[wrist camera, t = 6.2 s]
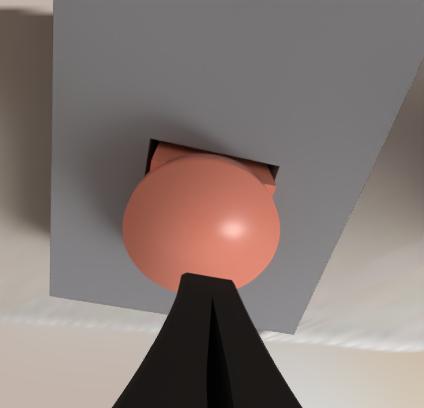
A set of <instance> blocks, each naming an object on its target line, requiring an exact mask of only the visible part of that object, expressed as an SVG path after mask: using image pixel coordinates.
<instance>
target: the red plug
mask: <svg viewBox="0 0 424 408" xmlns="http://www.w3.org/2000/svg"><path fill="white" fill-rule="evenodd" d="M275 188H276V184H275V182H274V180H273V177H272V175H271V173H270V170H269V168H268V166H267V163H263V162H258V161H253V160H249V159H244V158H239V157H235V156H230V155H225V154H221V153H216V152H211V151H207V150H202V149H197V148H193V147H188V146H184V145H179V144H174V143H170V142H165V141H160V142H159V144H158V146H157V149H156V151H155V153H154V155H153V158H152V160H151V166H150V171H149V172H148V173H147V174H146V175H145V176H144V177H143V178H142V180H141V181H140V182H139V183H138V185H137V186H136V188H135V190H134V192H133V193H132V195H131V198H130V200H129V202H128V204H127V207H126V210H125V212H124V217H123V226H122V232H123V240H124V243H125V247H126V250H127V252H128V254H129V256H130V258H131V260H132V261H133V263H134V264H135V265H136V267H137V268H138V269H139V270H140V271H141V272H142V273H143V274H144V275H145V276H146V277H148V278H149V279H150V280H152V281H153V282H155V283H156V284H158V285H160V286H162V287H164V288H166V289H168V290H171V291H174V292H177V291H178V287H179V283H180V279H181V275H182V274H184V273H186V272H188V273H193V274H199V275H205V276H211V277H217V278H222V279H228V280H232V281H233V282H234V284H235V286H236V288H237V289H238V288H240V287H242V286H244V285H246V284H247V283H249V282H250V281H252V280H253V279H255V278H256V277H257V276H258V275H259V274H260V273H262V272H263V270H264V269H265V268H266V267H267V266H268V264H269V263H270V261H271V260H272V258H273V256H274V254H275V252H276V250H277V246H278V243H279V237H280V221H279V215H278V212H277V209H276V206H275V204H274V201H273V198H272V197H273V194H274V191H275Z"/></svg>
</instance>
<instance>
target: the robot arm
mask: <svg viewBox="0 0 424 408" xmlns="http://www.w3.org/2000/svg"><path fill="white" fill-rule="evenodd" d="M112 408H302V406H301V405H300V403H299V402H298V400H297V399H296V397H295V396H294V394H293V392H292V391H291V389H290V388H289V386H288V384H287V383H286V381H285V380H284V378H283V376H282V375H281V373H280V372H279V370H278V368H277V367H276V365H275V363H274V361H273V359H272V358H271V356H270V354H269V352H268V350H267V349H266V347H265V345H264V343H263V341H262V339H261V337H260V336H259V334H258V332H257V330H256V328H255V326H254V324H253V322H252V320H251V318H250V316H249V314H248V312H247V310H246V308H245V306H244V304H243V301H242V299H241V297H240V295H239V292H238V290H237V288H236V286H235V284H234V282H233V281H232V280H228V279H222V278H217V277H211V276H205V275H199V274H193V273H188V272H186V273H184V274H182V275H181V279H180V283H179V287H178V291H177V295H176V298H175V301H174V303H173V305H172V308H171V310H170V312H169V314H168V316H167V318H166V320H165V322H164V324H163V326H162V328H161V330H160V332H159V334H158V336H157V338H156V340H155V341H154V343H153V345H152V346H151V348H150V350H149V351H148V353H147V355H146V357H145V359H144V360H143V362H142V363H141V365H140V367H139V368H138V370H137V371H136V373H135V374H134V376H133V377H132V379H131V381H130V382H129V384H128V385H127V387H126V388H125V390H124V391H123V392H122V394H121V395H120V397H119V398H118V400H117V401H116V403H115V404H114V406H113V407H112Z"/></svg>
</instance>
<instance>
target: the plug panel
mask: <svg viewBox="0 0 424 408" xmlns="http://www.w3.org/2000/svg"><path fill="white" fill-rule="evenodd" d="M423 59H424V0H54V3H53V78H52V155H51V232H50V296H53V297H59V298H66V299H72V300H78V301H85V302H91V303H97V304H103V305H110V306H116V307H122V308H129V309H135V310H141V311H148V312H154V313H160V314H166V315H168V314H169V312H170V310H171V308H172V305H173V303H174V301H175V298H176V295H177V292H174V291H171V290H168V289H166V288H164V287H162V286H160V285H158V284H156V283H155V282H153V281H152V280H150V279H149V278H148V277H146V276H145V275H144V274H143V273H142V272H141V271H140V270H139V269H138V268H137V267H136V265H135V264H134V263H133V261H132V260H131V258H130V256H129V254H128V252H127V250H126V247H125V243H124V240H123V232H122V226H123V217H124V212H125V210H126V207H127V204H128V202H129V200H130V198H131V195H132V193H133V192H134V190H135V188H136V186H137V185H138V183H139V182H140V181H141V180H142V178H143V177H144V176H145V175H146V174H147V173H148V172H149V171H150V166H151V160H152V158H153V155H154V153H155V151H156V149H157V146H158V141H159V140H160V141H165V142H170V143H174V144H179V145H184V146H188V147H193V148H197V149H202V150H207V151H211V152H216V153H221V154H225V155H230V156H235V157H239V158H244V159H249V160H253V161H258V162H263V163H267V166H268V168H269V170H270V173H271V175H272V177H273V180H274V182H275V184H276V188H275V191H274V194H273V197H272V198H273V201H274V204H275V206H276V209H277V212H278V215H279V221H280V237H279V243H278V246H277V250H276V252H275V254H274V256H273V258H272V260H271V261H270V263H269V264H268V266H267V267H266V268H265V269H264V270H263V272H262V273H260V274H259V275H258V276H257V277H256V278H255V279H253V280H252V281H250V282H249V283H247V284H246V285H244V286H242V287H240V288H238V289H237V290H238V292H239V295H240V297H241V299H242V301H243V304H244V306H245V308H246V310H247V312H248V314H249V316H250V318H251V320H252V322H253V324H254V326H255V328H256V329H261V330H267V331H274V332H280V333H286V334H293V335H294V333H295V331H296V329H297V327H298V325H299V322H300V320H301V318H302V316H303V314H304V312H305V310H306V308H307V305H308V303H309V301H310V299H311V297H312V295H313V293H314V291H315V288H316V286H317V284H318V282H319V280H320V278H321V276H322V274H323V271H324V269H325V267H326V265H327V263H328V261H329V259H330V257H331V254H332V252H333V250H334V248H335V246H336V244H337V242H338V240H339V238H340V235H341V233H342V231H343V229H344V227H345V225H346V223H347V221H348V218H349V216H350V214H351V212H352V210H353V208H354V206H355V204H356V201H357V199H358V197H359V195H360V193H361V191H362V189H363V187H364V184H365V182H366V180H367V178H368V176H369V174H370V172H371V170H372V167H373V165H374V163H375V161H376V159H377V157H378V155H379V153H380V150H381V148H382V146H383V144H384V142H385V140H386V138H387V136H388V133H389V131H390V129H391V127H392V125H393V123H394V121H395V119H396V116H397V114H398V112H399V110H400V108H401V106H402V104H403V102H404V99H405V97H406V95H407V93H408V91H409V89H410V87H411V85H412V82H413V80H414V78H415V76H416V74H417V72H418V70H419V68H420V65H421V63H422V61H423Z"/></svg>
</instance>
